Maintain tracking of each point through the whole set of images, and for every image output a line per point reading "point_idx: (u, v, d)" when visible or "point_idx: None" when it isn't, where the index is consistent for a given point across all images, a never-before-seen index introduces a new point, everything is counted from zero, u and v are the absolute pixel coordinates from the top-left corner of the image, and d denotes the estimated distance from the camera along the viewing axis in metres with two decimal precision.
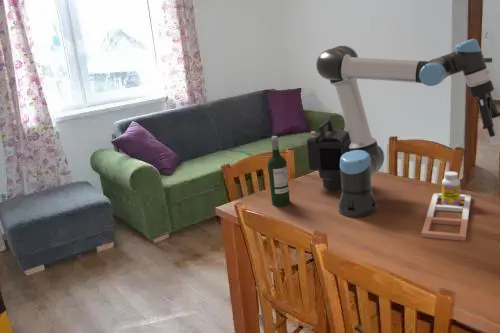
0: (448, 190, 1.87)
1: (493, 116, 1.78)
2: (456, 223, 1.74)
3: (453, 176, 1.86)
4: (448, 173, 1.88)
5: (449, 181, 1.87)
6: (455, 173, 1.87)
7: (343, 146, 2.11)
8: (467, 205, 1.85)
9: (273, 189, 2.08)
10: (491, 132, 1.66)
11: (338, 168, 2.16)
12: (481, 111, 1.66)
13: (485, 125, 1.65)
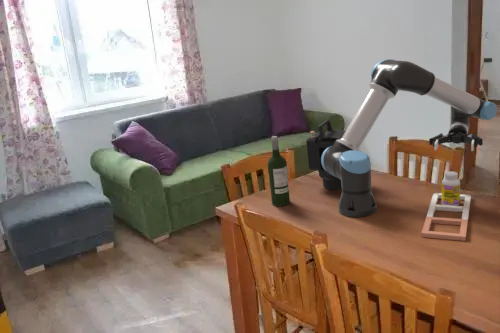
0: (448, 190, 1.87)
1: None
2: (456, 223, 1.74)
3: (453, 176, 1.86)
4: (448, 173, 1.88)
5: (449, 181, 1.87)
6: (455, 173, 1.87)
7: None
8: (467, 205, 1.85)
9: (273, 189, 2.08)
10: (477, 144, 1.93)
11: None
12: None
13: None
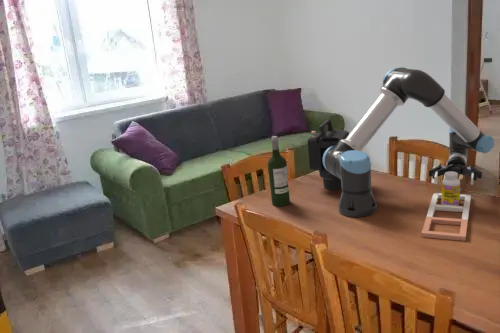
0: (448, 190, 1.87)
1: None
2: (456, 223, 1.74)
3: (453, 176, 1.86)
4: (448, 173, 1.88)
5: (449, 181, 1.87)
6: (455, 173, 1.87)
7: None
8: (467, 205, 1.85)
9: (273, 189, 2.08)
10: (476, 178, 1.95)
11: None
12: None
13: None
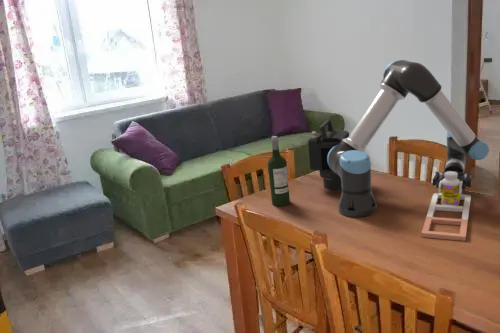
0: (448, 190, 1.87)
1: None
2: (456, 223, 1.74)
3: (453, 176, 1.86)
4: (448, 173, 1.88)
5: (449, 181, 1.87)
6: (455, 173, 1.87)
7: None
8: (467, 205, 1.85)
9: (273, 189, 2.08)
10: (465, 186, 1.87)
11: None
12: (470, 177, 1.93)
13: None
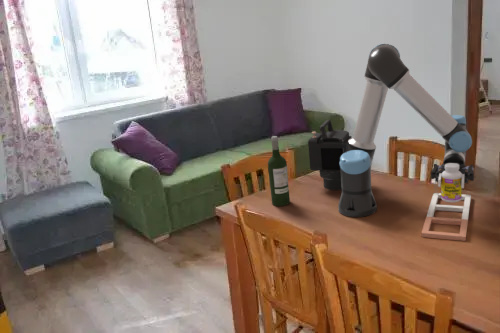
0: (449, 184, 1.67)
1: None
2: (456, 223, 1.74)
3: (455, 168, 1.65)
4: (449, 165, 1.68)
5: (450, 173, 1.66)
6: (456, 165, 1.67)
7: (344, 146, 2.11)
8: (467, 205, 1.85)
9: (273, 189, 2.08)
10: None
11: (339, 168, 2.16)
12: (472, 169, 1.73)
13: None
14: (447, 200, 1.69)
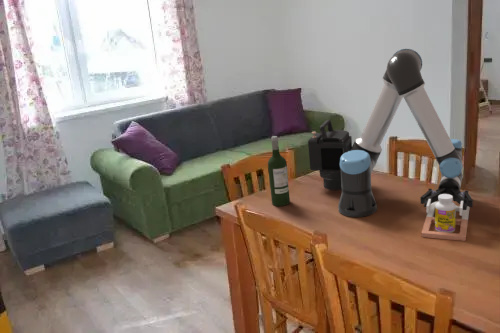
0: (442, 215, 1.67)
1: None
2: (456, 223, 1.74)
3: (448, 199, 1.65)
4: (442, 196, 1.68)
5: (443, 205, 1.66)
6: (450, 196, 1.67)
7: (344, 146, 2.11)
8: None
9: (273, 189, 2.08)
10: (466, 207, 1.66)
11: (339, 168, 2.16)
12: None
13: None
14: (440, 231, 1.69)
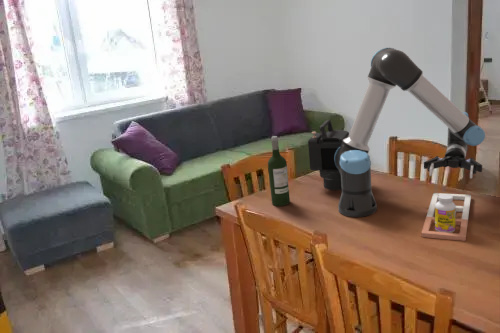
0: (442, 215, 1.67)
1: None
2: (456, 223, 1.74)
3: (448, 199, 1.65)
4: (442, 196, 1.68)
5: (443, 205, 1.66)
6: (450, 196, 1.67)
7: None
8: (467, 205, 1.85)
9: (273, 189, 2.08)
10: (476, 171, 1.76)
11: None
12: None
13: None
14: (440, 231, 1.69)
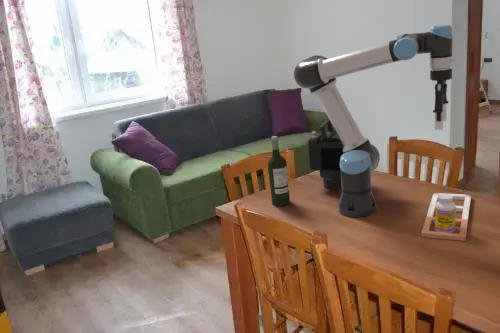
0: (442, 215, 1.67)
1: None
2: (456, 223, 1.74)
3: (448, 199, 1.65)
4: (442, 196, 1.68)
5: (443, 205, 1.66)
6: (450, 196, 1.67)
7: None
8: (467, 205, 1.85)
9: (273, 189, 2.08)
10: (439, 117, 1.76)
11: (339, 168, 2.16)
12: (436, 95, 1.75)
13: (436, 109, 1.74)
14: (440, 231, 1.69)
